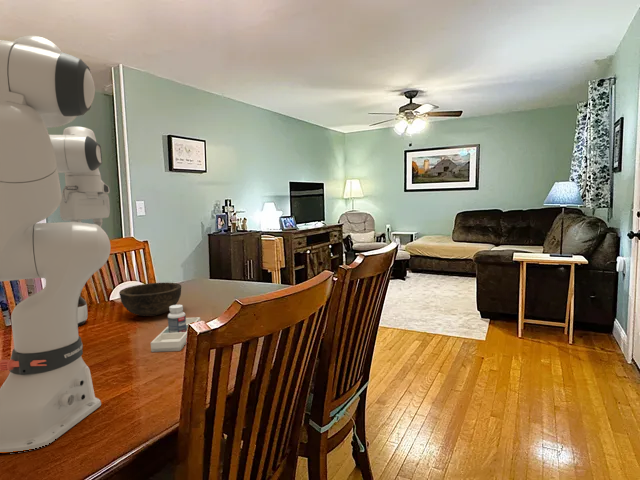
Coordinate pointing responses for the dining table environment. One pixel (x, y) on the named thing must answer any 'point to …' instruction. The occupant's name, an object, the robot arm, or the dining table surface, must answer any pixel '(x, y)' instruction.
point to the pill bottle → (176, 319)
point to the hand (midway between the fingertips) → (88, 235)
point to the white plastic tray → (171, 339)
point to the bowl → (150, 298)
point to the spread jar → (82, 311)
